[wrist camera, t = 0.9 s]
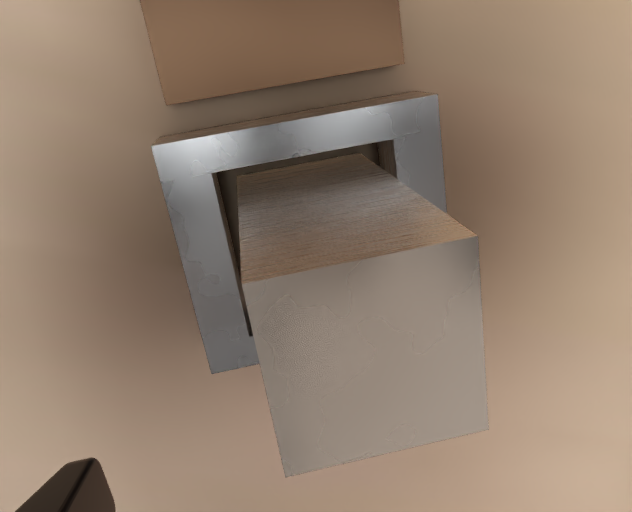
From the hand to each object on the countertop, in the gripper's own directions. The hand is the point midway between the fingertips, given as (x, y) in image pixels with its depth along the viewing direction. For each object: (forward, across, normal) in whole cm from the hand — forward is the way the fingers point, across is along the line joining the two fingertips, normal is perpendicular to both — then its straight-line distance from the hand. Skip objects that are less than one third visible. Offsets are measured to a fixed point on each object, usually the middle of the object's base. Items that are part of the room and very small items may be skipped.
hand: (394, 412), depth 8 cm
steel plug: (+10, 0, 0) cm, 10 cm away
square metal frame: (+10, 0, 0) cm, 10 cm away
